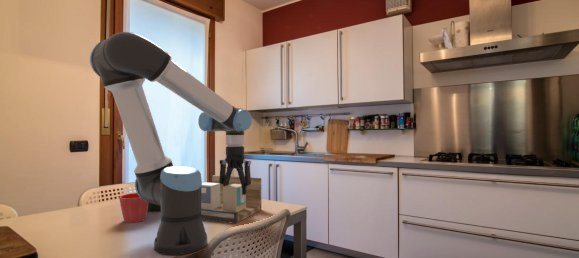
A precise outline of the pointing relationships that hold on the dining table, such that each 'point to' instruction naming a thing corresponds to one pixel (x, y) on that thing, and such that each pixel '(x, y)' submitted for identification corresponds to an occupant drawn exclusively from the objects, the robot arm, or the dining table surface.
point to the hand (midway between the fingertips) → (234, 201)
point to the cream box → (210, 195)
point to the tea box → (232, 198)
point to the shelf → (228, 216)
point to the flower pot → (133, 207)
